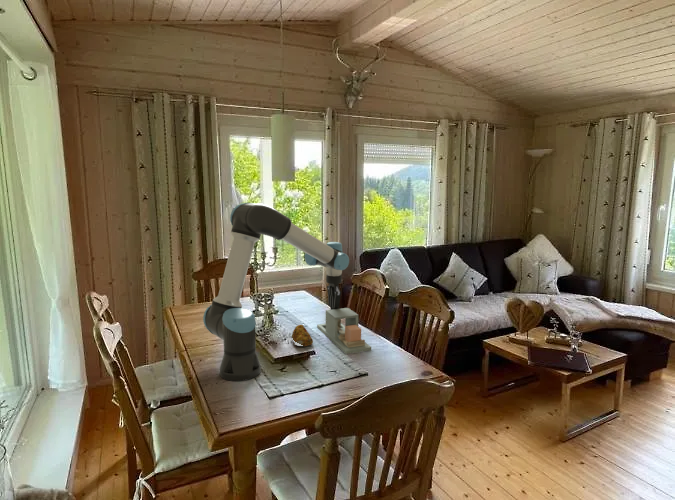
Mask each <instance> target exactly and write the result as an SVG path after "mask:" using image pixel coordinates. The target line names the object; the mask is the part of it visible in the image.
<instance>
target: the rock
mask: <svg viewBox="0 0 675 500" xmlns="http://www.w3.org/2000/svg"><path fill="white" fill-rule="evenodd" d="M292 338H293V340H294V341H295V342H297V343H299V344H301V345H303V346H304V347H307V346H311V345H313V344H314V340H313V338H312V336H311V334H310V333H309V332H308V330H307V328H306V327H305V326H304V325H303V324H297V325H296V326H295V327H294V329H293V331H292V335H291V339H292ZM293 340H292V341H293Z"/></svg>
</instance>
